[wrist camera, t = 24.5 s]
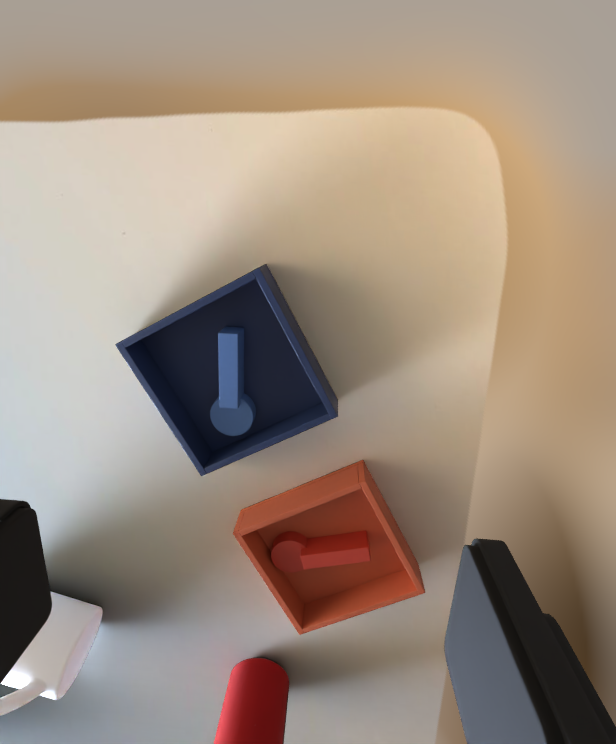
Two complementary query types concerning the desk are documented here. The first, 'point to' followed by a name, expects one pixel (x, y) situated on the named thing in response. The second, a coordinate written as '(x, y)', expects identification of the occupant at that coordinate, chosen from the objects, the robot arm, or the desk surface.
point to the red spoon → (319, 550)
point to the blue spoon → (232, 386)
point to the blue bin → (261, 370)
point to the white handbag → (53, 653)
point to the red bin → (322, 518)
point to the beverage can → (254, 704)
